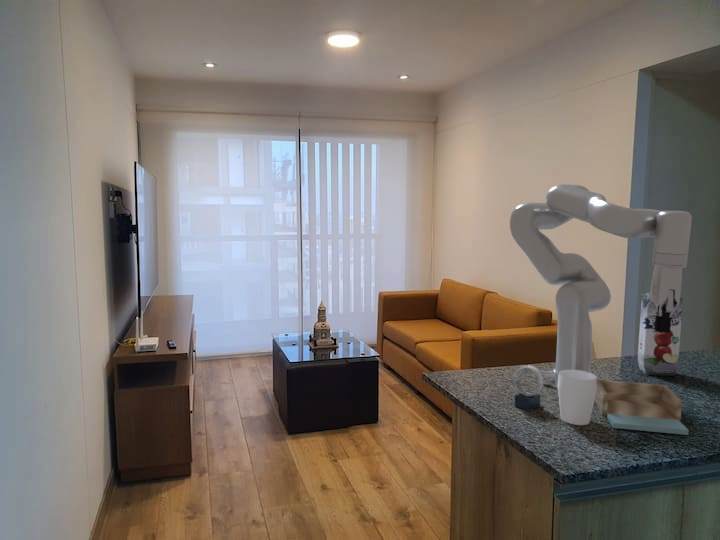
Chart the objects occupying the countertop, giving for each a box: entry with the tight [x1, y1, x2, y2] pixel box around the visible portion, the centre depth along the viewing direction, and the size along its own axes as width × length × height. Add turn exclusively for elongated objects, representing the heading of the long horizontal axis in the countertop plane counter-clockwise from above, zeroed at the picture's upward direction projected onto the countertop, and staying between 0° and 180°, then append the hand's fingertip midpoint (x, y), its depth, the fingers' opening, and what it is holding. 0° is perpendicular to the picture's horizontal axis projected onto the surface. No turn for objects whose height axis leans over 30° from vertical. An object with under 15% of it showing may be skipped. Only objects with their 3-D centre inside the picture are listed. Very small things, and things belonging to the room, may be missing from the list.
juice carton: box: [637, 292, 683, 377], centre depth 172 cm, size 9×10×27 cm
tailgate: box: [606, 413, 690, 436], centre depth 128 cm, size 16×1×7 cm
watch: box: [512, 364, 545, 412], centre depth 142 cm, size 6×8×11 cm
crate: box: [594, 379, 683, 422], centre depth 139 cm, size 18×12×6 cm
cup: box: [557, 370, 598, 426], centre depth 132 cm, size 9×9×12 cm
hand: (661, 331), depth 136 cm, fingers closed
